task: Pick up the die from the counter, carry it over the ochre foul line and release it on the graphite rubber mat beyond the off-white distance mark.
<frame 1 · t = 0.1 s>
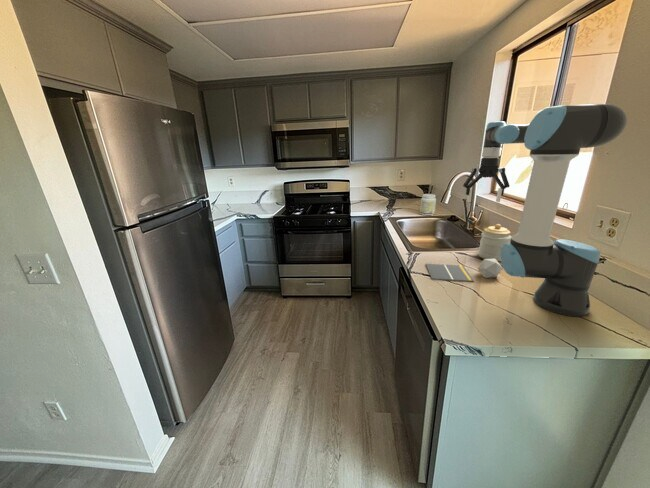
hand: (482, 201, 134), 28 cm above the worktop, tool pointing down, fingers open, 13 cm apart
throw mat: (448, 272, 122), on the worktop
jar: (491, 257, 138), on the worktop
supplement tub: (426, 214, 229), on the worktop
die: (488, 276, 118), on the worktop
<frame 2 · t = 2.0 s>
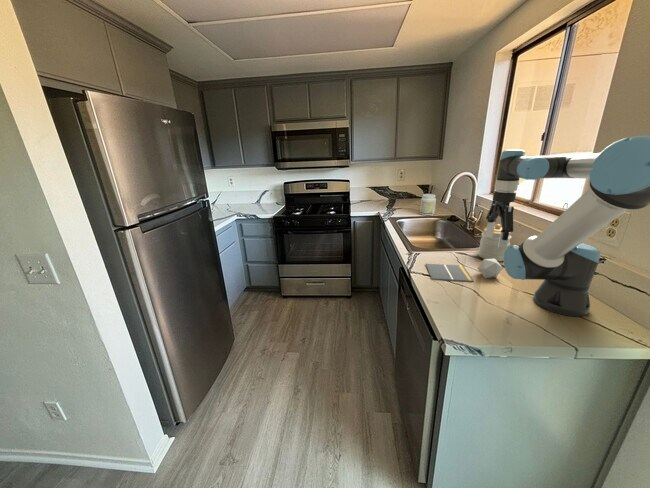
hand: (494, 241, 113), 16 cm above the worktop, tool pointing down, fingers open, 13 cm apart
nothing on the worktop moved.
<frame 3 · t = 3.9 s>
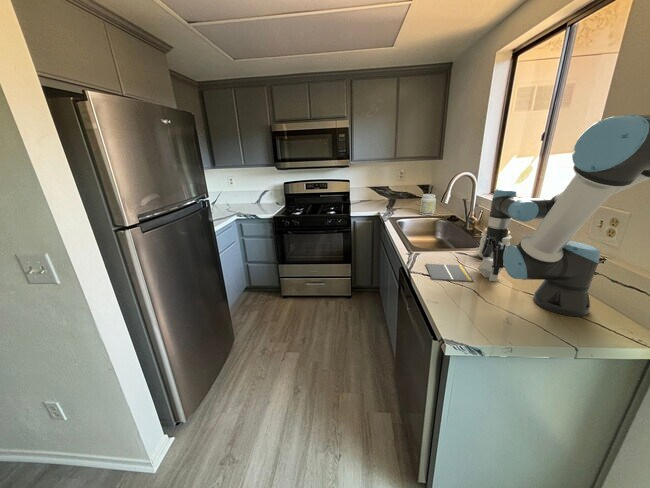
hand: (488, 275, 118), 0 cm above the worktop, tool pointing down, fingers open, 9 cm apart
die: (488, 276, 118), on the worktop, touching gripper
everything else where it was.
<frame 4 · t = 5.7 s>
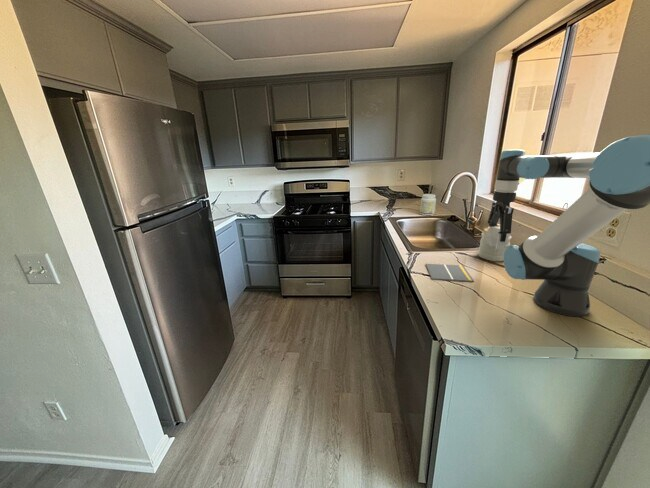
hand: (494, 244, 113), 15 cm above the worktop, tool pointing down, fingers closed on die, 9 cm apart
die: (494, 245, 113), point 14 cm above the worktop, touching gripper
everything else where it was.
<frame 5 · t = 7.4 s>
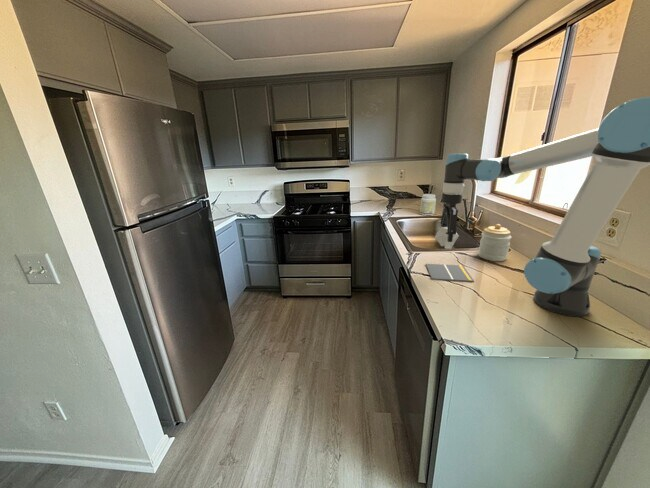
hand: (445, 244, 117), 14 cm above the worktop, tool pointing down, fingers closed on die, 9 cm apart
die: (445, 245, 117), point 14 cm above the worktop, touching gripper
everything else where it was.
when the fingers open (2 cm above the worktop, at t = 10.2 s): die drops 2 cm, resting on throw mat.
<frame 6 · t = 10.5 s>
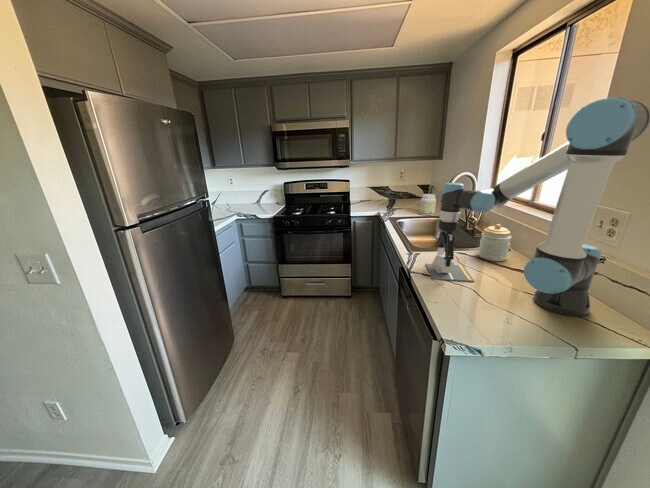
hand: (442, 266, 120), 4 cm above the worktop, tool pointing down, fingers open, 12 cm apart
die: (441, 272, 122), resting on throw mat
everything else where it was.
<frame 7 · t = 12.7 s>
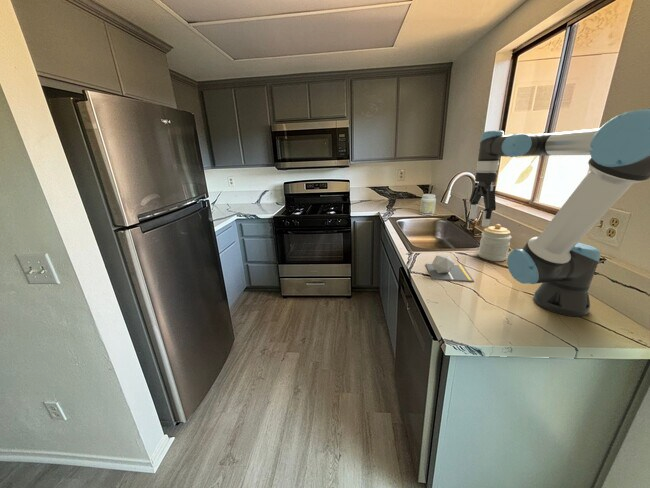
hand: (478, 222, 116), 23 cm above the worktop, tool pointing down, fingers open, 13 cm apart
nothing on the worktop moved.
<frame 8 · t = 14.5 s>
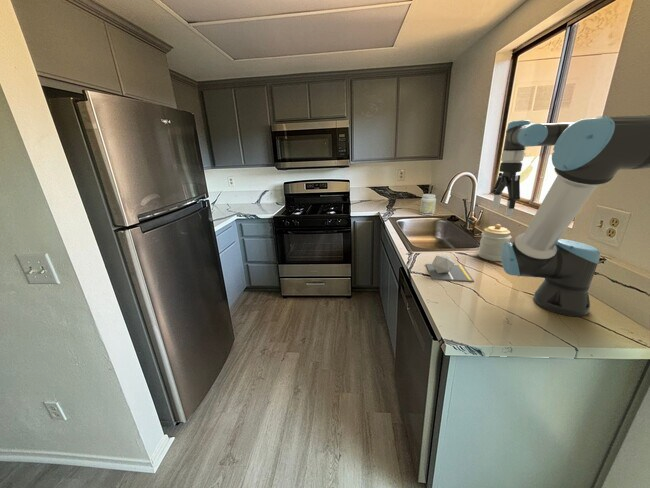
hand: (501, 212, 117), 27 cm above the worktop, tool pointing down, fingers open, 13 cm apart
nothing on the worktop moved.
at the end: die inside the target area (4.4 cm from its centre), point 0.5 cm above the worktop; die tilted 1°; the gripper is holding nothing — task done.
